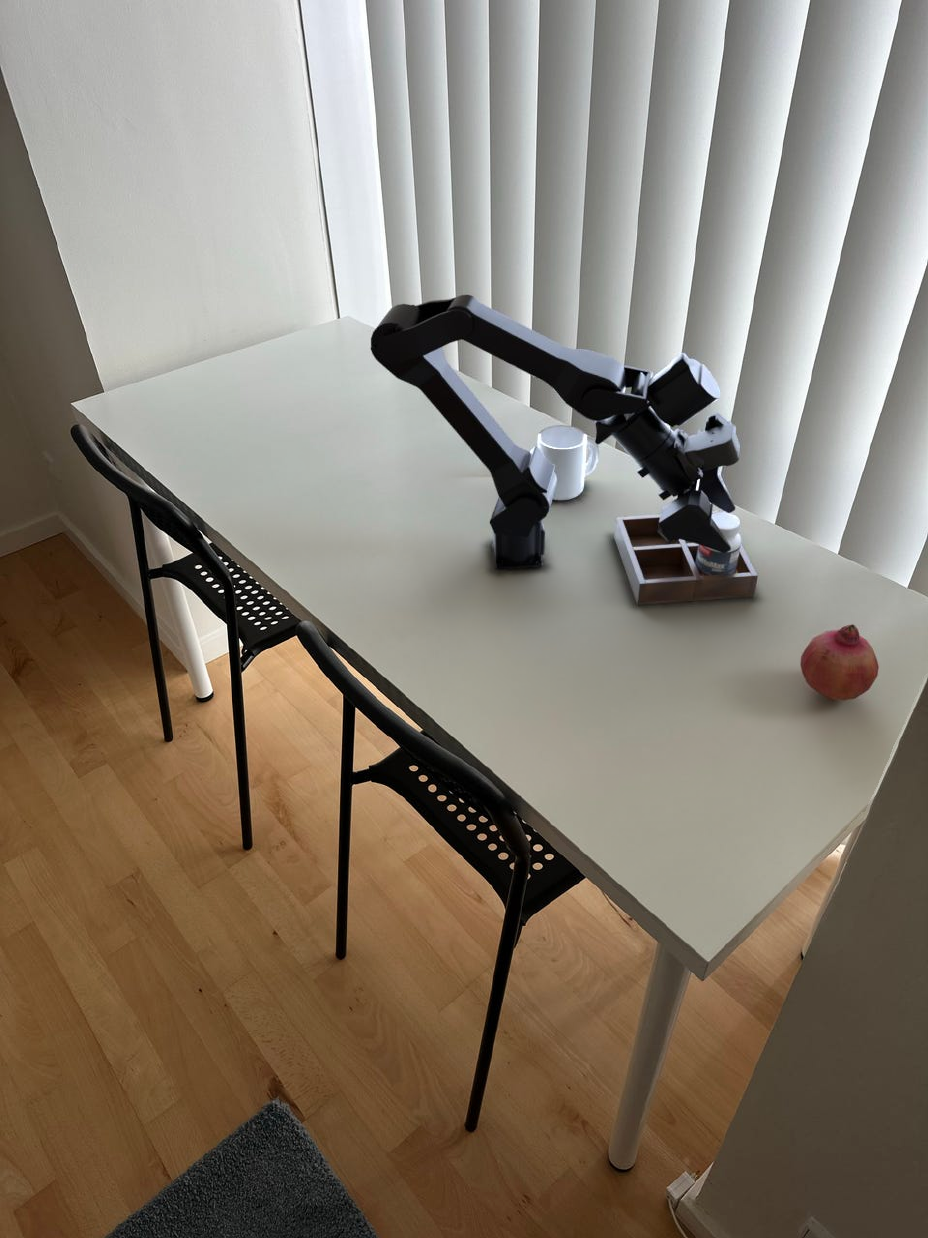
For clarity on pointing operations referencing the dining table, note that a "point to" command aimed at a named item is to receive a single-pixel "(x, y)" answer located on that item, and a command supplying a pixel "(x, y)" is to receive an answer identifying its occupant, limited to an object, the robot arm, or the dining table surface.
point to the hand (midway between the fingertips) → (730, 530)
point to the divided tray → (674, 566)
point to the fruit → (839, 664)
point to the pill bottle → (718, 561)
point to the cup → (568, 458)
